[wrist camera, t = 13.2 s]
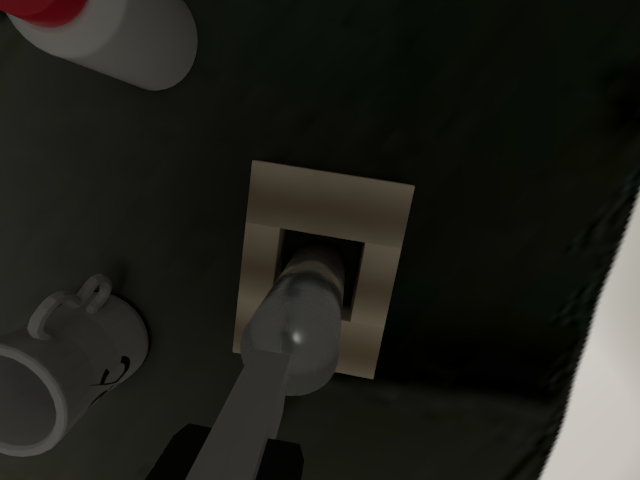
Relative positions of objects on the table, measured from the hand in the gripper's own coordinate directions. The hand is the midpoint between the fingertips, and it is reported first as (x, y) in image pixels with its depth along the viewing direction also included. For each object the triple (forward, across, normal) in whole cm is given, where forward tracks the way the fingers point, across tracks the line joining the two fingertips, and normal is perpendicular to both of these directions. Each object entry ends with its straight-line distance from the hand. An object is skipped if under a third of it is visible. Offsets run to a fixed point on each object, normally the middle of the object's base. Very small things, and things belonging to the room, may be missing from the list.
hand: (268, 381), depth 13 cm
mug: (+16, -18, -9) cm, 26 cm away
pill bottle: (+17, -15, +16) cm, 28 cm away
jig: (+16, +1, 0) cm, 16 cm away
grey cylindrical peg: (+16, +1, 0) cm, 16 cm away
